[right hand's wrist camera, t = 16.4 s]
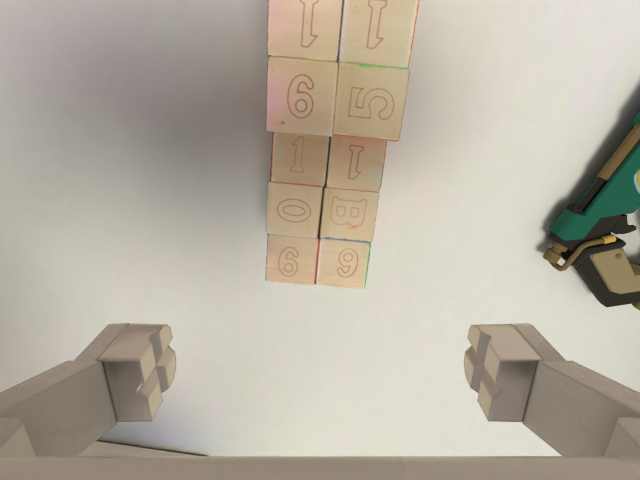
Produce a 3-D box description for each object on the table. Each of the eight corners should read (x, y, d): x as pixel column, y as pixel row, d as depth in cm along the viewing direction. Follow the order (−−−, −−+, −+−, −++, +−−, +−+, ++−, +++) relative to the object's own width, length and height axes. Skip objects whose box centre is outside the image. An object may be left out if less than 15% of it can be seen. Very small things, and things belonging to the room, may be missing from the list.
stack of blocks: (352, 238, 32) (370, 319, 20) (277, 231, 31) (252, 308, 20) (396, -74, 24) (466, -233, 12) (298, -86, 24) (278, -259, 12)
